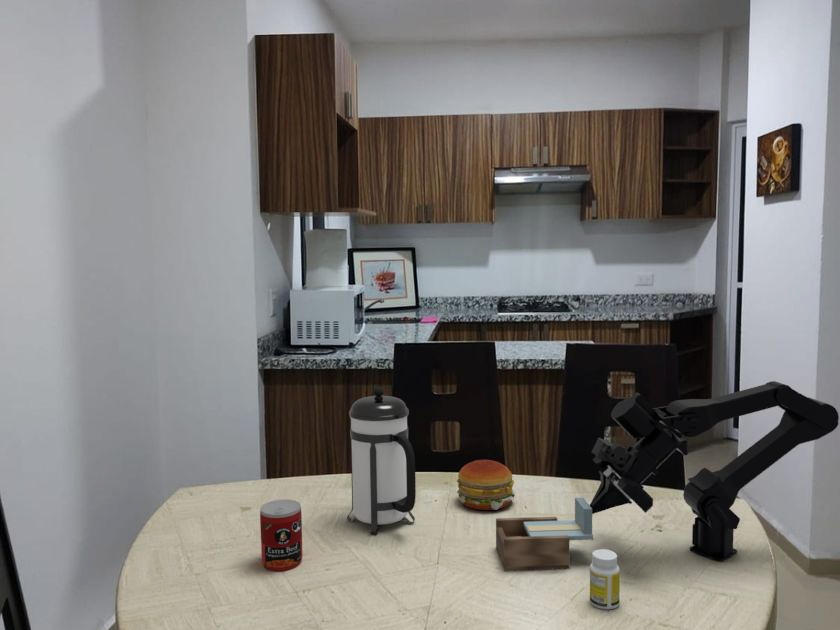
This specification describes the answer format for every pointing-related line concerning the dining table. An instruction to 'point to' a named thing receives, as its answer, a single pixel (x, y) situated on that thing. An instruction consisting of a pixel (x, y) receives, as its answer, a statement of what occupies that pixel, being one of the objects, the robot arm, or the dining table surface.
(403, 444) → the coffee press
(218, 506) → the dining table surface
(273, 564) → the canned food
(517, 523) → the pencil box
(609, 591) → the supplement bottle
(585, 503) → the lid
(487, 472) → the burger
